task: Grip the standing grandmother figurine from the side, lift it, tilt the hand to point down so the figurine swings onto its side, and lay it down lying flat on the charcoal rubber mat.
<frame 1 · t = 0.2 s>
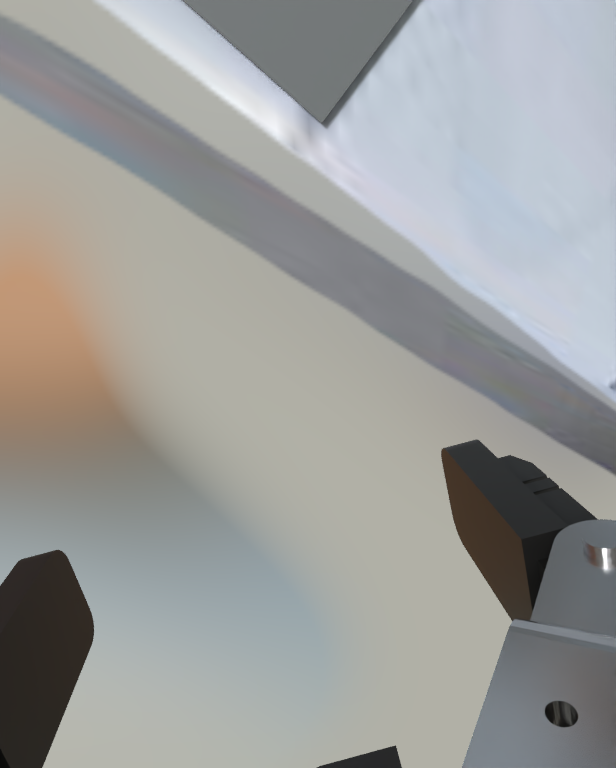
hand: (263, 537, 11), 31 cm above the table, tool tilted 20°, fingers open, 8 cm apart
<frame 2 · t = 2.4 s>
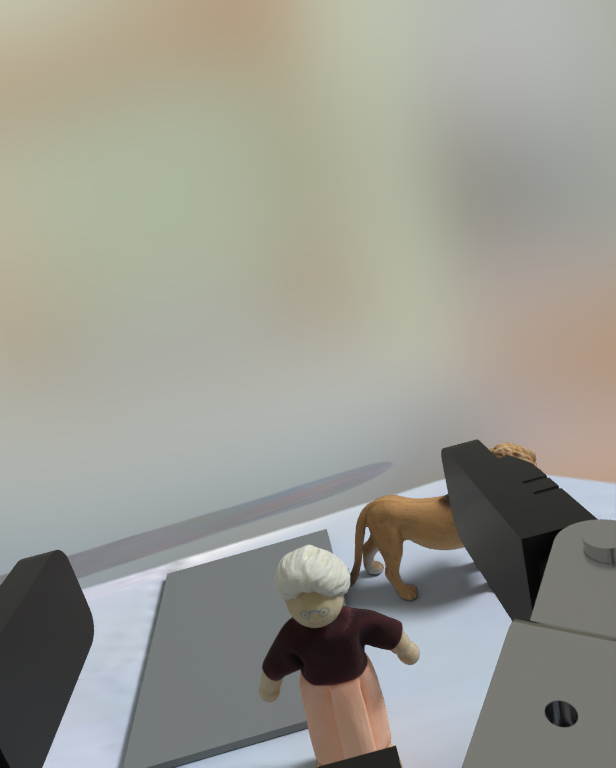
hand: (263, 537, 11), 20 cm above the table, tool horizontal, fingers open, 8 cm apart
lion figurine: (452, 575, 39), on the table, touching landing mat
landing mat: (249, 629, 39), on the table
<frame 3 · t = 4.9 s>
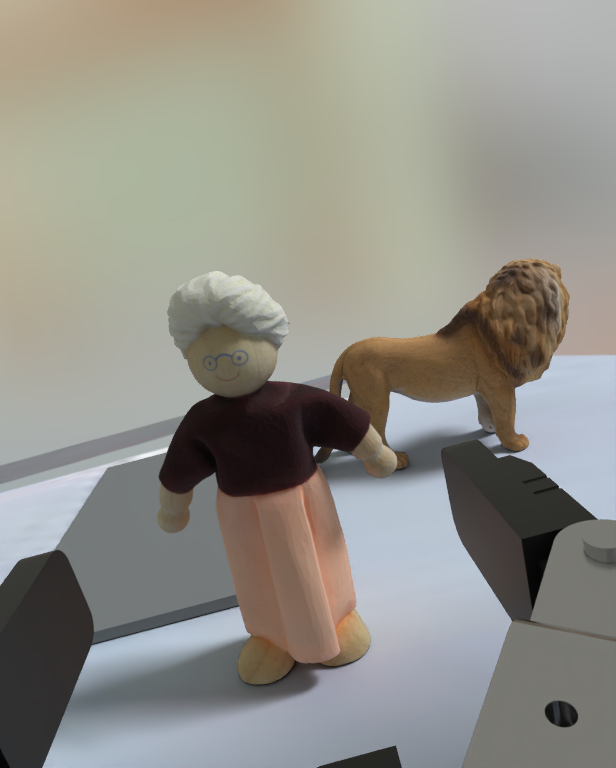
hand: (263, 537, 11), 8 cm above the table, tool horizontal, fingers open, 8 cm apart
lion figurine: (453, 444, 31), on the table
grandmother figurine: (321, 645, 19), on the table
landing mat: (191, 511, 30), on the table
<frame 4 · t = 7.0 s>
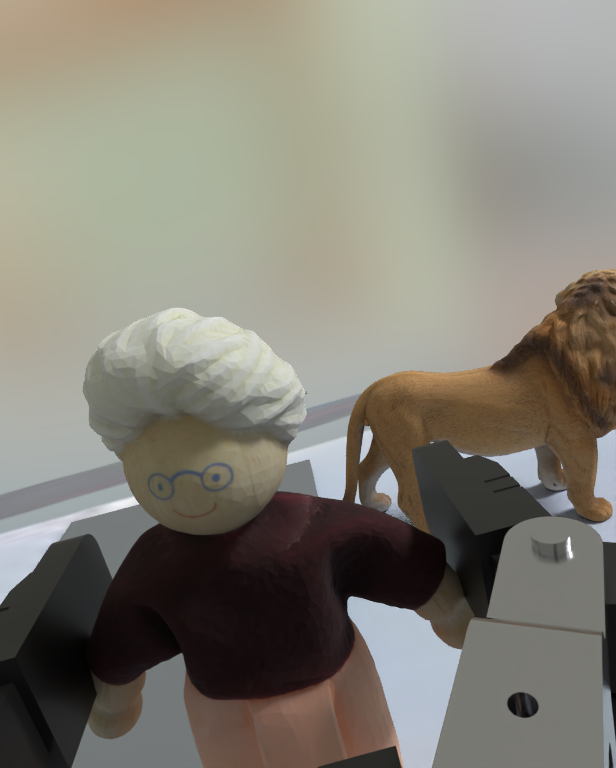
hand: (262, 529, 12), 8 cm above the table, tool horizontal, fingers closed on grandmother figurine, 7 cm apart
lion figurine: (505, 506, 24), on the table
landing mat: (169, 598, 23), on the table
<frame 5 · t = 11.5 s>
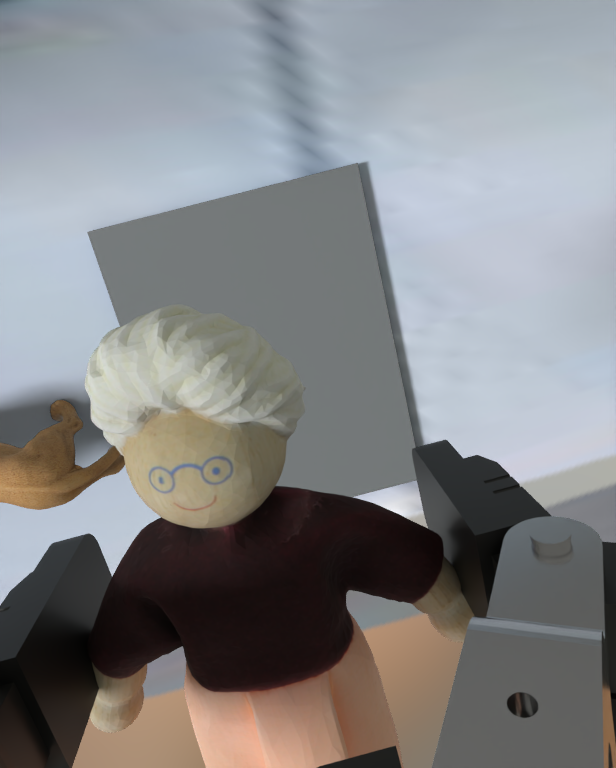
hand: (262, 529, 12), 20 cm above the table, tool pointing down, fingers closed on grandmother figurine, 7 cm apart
lion figurine: (18, 447, 31), on the table
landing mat: (268, 363, 31), on the table
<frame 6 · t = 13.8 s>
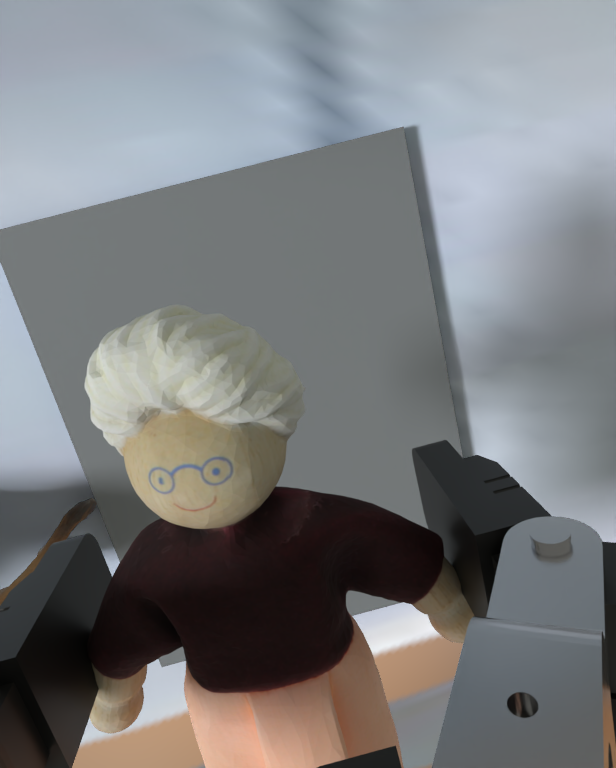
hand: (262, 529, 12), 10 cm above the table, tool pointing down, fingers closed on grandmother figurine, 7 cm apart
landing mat: (268, 423, 21), on the table
when the fingers open (4 cm above the table, at t = 15.6 s): grandmother figurine drops 4 cm, resting on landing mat.
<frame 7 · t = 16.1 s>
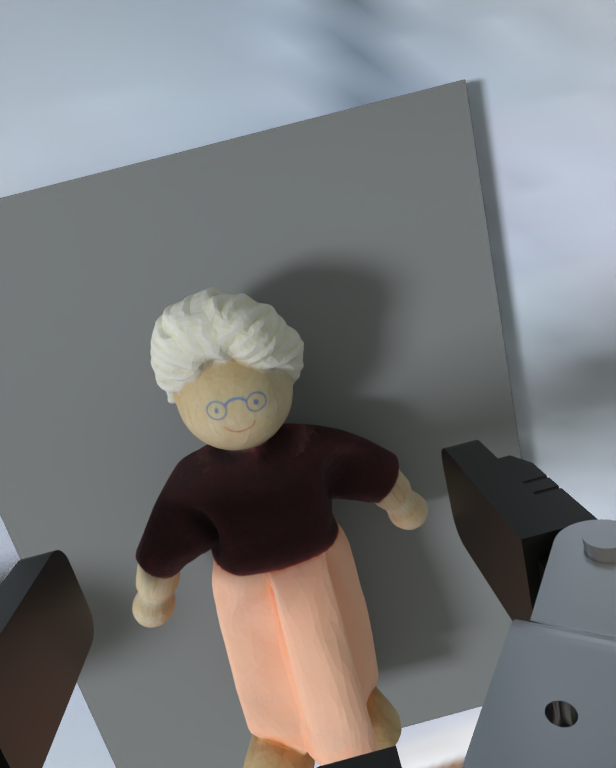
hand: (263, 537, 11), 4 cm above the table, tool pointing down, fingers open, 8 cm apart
grandmother figurine: (340, 733, 16), point 2 cm above the table, touching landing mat
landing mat: (271, 489, 16), on the table
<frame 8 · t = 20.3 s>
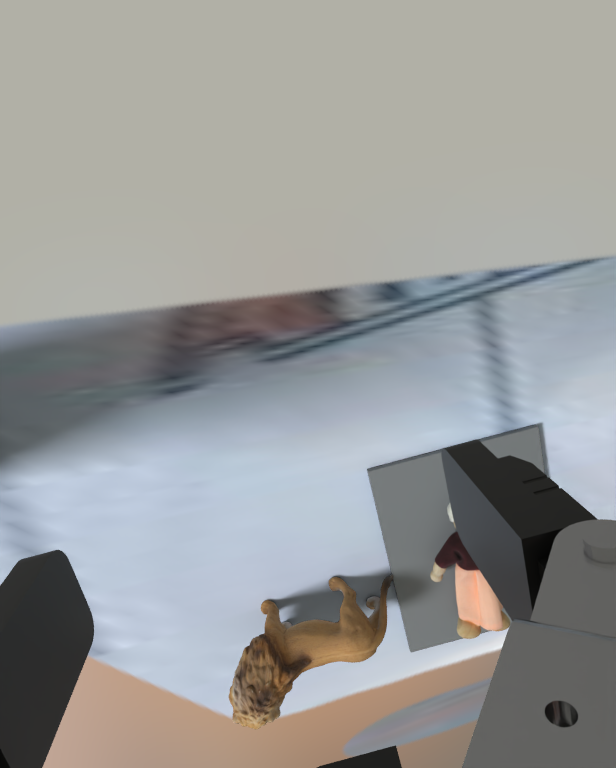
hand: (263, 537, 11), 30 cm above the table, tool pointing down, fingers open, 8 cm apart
lion figurine: (308, 609, 48), on the table
grandmother figurine: (488, 623, 47), point 2 cm above the table, touching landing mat
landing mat: (469, 542, 47), on the table
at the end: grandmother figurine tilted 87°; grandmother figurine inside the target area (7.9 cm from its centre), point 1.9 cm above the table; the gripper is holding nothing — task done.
